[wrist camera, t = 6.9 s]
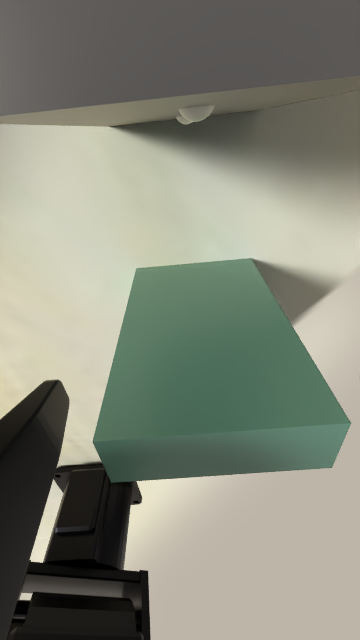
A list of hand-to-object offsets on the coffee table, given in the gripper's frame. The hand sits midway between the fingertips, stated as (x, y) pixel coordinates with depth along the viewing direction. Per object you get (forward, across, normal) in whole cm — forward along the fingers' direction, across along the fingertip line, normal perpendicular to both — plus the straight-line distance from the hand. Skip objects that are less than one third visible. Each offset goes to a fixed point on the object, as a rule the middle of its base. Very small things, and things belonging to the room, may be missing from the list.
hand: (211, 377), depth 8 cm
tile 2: (+7, 0, -7) cm, 10 cm away
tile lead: (+7, 0, 0) cm, 7 cm away
